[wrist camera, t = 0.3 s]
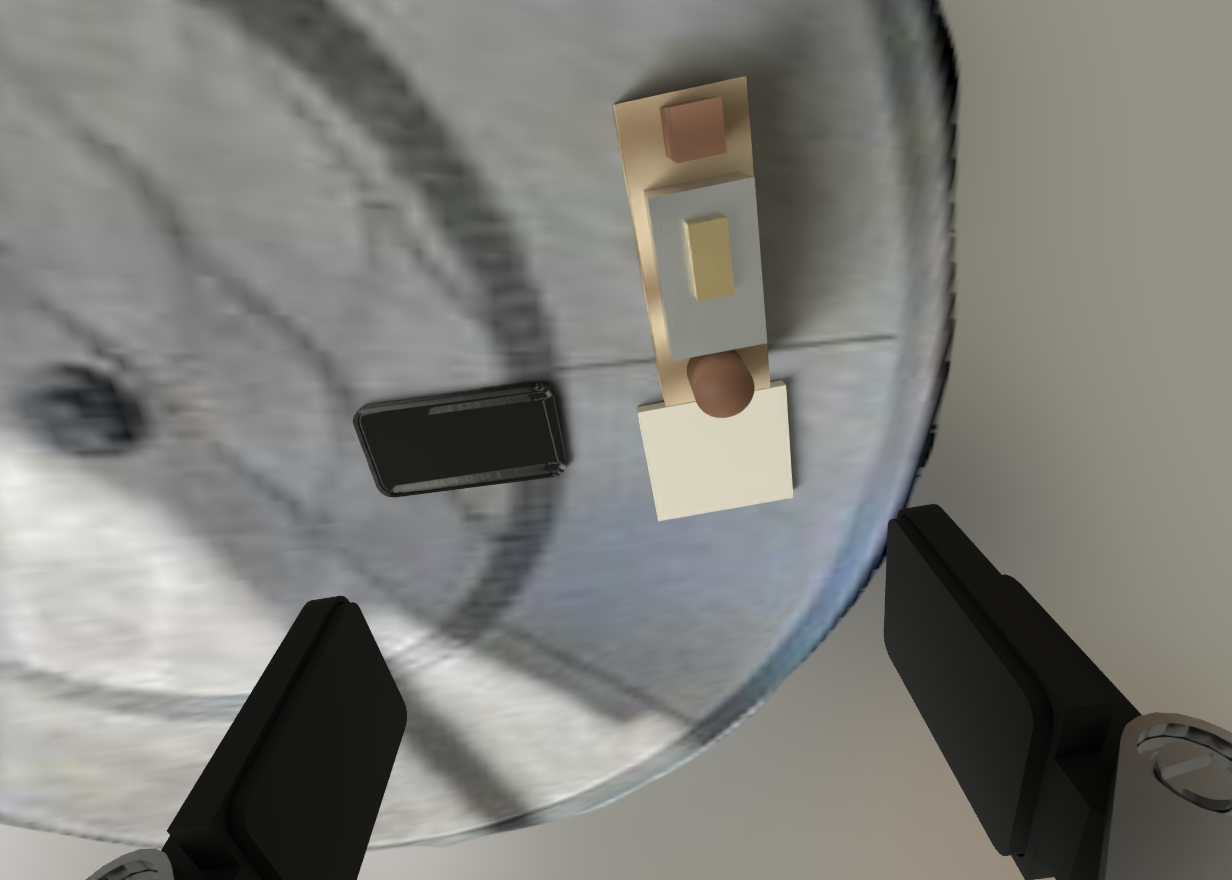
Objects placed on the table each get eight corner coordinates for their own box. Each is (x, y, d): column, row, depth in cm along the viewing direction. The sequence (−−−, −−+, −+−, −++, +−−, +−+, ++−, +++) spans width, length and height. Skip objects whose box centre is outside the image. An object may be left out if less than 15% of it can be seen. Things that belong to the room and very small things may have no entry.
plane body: (612, 105, 37) (617, 103, 28) (727, 80, 37) (770, 70, 28) (658, 378, 46) (674, 442, 37) (753, 360, 45) (791, 420, 36)
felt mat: (636, 406, 47) (637, 412, 46) (782, 379, 46) (785, 385, 45) (657, 514, 51) (658, 521, 50) (789, 490, 51) (793, 497, 50)
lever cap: (643, 191, 35) (649, 201, 31) (740, 170, 34) (759, 178, 30) (666, 341, 39) (675, 367, 35) (753, 324, 39) (771, 348, 35)
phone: (568, 475, 48) (381, 499, 49) (568, 467, 49) (385, 491, 50) (550, 382, 45) (347, 410, 45) (551, 376, 46) (353, 403, 46)
